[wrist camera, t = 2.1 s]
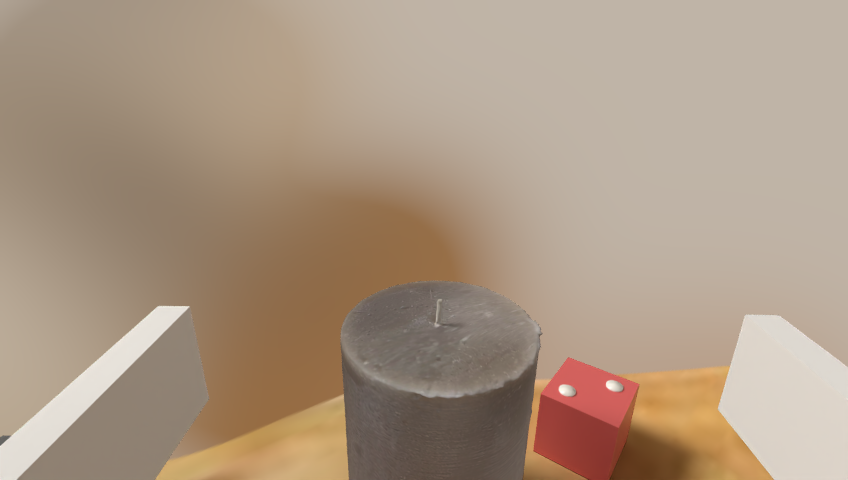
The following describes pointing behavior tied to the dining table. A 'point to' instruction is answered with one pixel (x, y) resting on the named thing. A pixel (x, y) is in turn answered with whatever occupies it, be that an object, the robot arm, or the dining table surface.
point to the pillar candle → (438, 383)
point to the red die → (585, 419)
